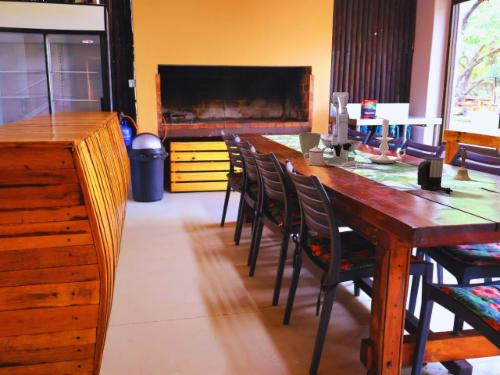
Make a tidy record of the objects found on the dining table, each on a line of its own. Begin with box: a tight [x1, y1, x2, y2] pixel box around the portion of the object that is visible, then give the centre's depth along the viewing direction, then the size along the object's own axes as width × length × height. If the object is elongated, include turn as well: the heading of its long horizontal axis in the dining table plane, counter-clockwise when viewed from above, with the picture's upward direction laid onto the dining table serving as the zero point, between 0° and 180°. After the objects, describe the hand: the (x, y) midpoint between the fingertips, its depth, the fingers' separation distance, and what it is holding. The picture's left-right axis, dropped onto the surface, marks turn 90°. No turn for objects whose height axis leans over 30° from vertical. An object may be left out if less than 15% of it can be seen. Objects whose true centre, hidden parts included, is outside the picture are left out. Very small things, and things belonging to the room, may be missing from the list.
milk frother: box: [416, 156, 454, 194], centre depth 209 cm, size 14×16×15 cm
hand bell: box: [452, 148, 472, 182], centre depth 236 cm, size 8×8×16 cm
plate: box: [335, 150, 350, 162], centre depth 282 cm, size 2×8×8 cm, turn 44°
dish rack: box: [325, 156, 358, 168], centre depth 282 cm, size 14×12×4 cm
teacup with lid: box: [303, 146, 325, 167], centre depth 281 cm, size 12×9×12 cm
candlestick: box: [366, 118, 407, 164], centre depth 289 cm, size 21×25×28 cm
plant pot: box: [298, 132, 322, 159], centre depth 313 cm, size 15×15×16 cm
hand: (341, 156), depth 282 cm, fingers open, 7 cm apart
